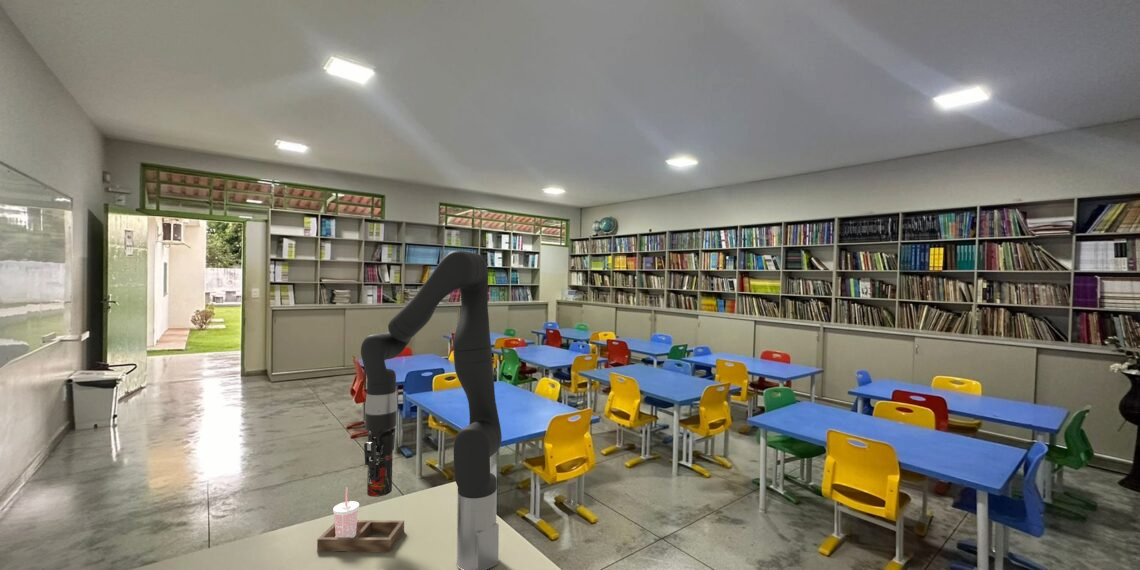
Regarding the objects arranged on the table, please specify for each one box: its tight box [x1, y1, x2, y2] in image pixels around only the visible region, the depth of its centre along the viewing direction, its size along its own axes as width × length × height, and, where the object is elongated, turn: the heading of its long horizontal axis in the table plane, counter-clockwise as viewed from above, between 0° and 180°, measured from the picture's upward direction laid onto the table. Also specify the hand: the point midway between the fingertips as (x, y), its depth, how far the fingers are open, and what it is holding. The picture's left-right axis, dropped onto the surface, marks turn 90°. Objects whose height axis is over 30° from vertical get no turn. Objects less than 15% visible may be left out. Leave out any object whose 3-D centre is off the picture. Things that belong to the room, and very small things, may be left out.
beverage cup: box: [332, 486, 360, 537], centre depth 117 cm, size 6×6×14 cm
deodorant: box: [366, 431, 394, 498], centre depth 118 cm, size 6×6×15 cm
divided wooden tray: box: [316, 519, 405, 553], centre depth 117 cm, size 18×10×3 cm, turn 90°
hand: (380, 474), depth 118 cm, fingers closed on deodorant, 6 cm apart
